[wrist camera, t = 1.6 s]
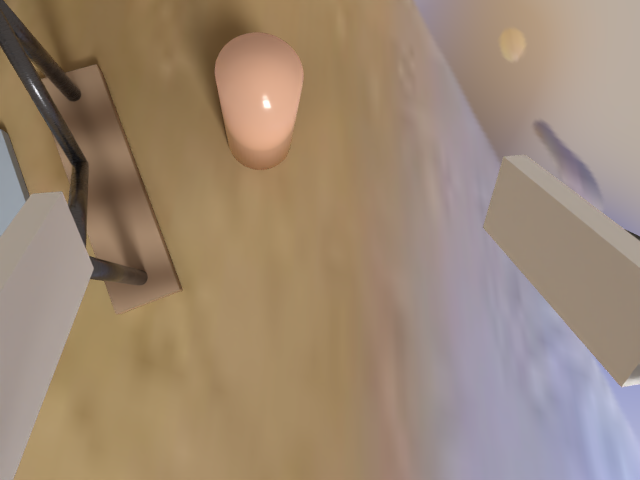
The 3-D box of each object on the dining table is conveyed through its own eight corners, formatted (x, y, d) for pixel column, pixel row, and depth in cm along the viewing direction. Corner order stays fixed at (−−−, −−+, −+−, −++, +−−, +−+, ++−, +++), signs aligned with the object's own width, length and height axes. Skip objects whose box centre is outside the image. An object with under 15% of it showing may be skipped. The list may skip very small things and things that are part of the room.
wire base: (41, 88, 35) (33, 81, 34) (101, 71, 36) (96, 64, 35) (121, 313, 33) (116, 314, 32) (182, 290, 34) (179, 289, 33)
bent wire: (63, 89, 34) (-45, -27, 22) (78, 85, 34) (-21, -32, 22) (134, 287, 33) (61, 279, 21) (149, 282, 33) (86, 270, 21)
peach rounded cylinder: (218, 120, 37) (201, 45, 26) (277, 102, 38) (284, 22, 27) (241, 178, 36) (233, 125, 25) (300, 158, 37) (316, 99, 26)
